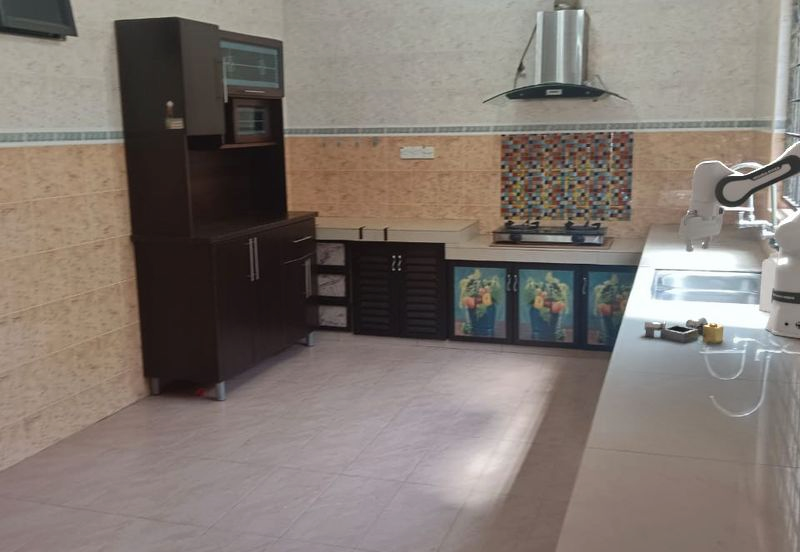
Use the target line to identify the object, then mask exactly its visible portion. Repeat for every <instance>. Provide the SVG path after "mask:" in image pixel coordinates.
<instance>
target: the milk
mask: <svg viewBox="0 0 800 552" xmlns="http://www.w3.org/2000/svg"><path fill="white" fill-rule="evenodd" d="M778 253H779V251H778V252H771V253H770V254H769V257H768V258H766V259H764V260H762V265H761V278H760V279H761V280H760V293H759V294H760V295H759V305H758V306H759V308H758V310H759V311H760V310H762V311H761V312H765V311H766V313H770V312H771V307H772V303H771V299H772V289H773V288H774V280H775V267H776V262H777V258H778Z"/></svg>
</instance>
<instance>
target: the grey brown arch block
mask: <svg viewBox="0 0 800 552" xmlns="http://www.w3.org/2000/svg"><path fill="white" fill-rule="evenodd" d="M665 327H667V325H666V321H662V322H652V321H651V322H647V321H644V331H645V338H654V337H655V331H659V332H661V329H665Z"/></svg>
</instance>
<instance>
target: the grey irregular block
mask: <svg viewBox="0 0 800 552" xmlns="http://www.w3.org/2000/svg"><path fill="white" fill-rule="evenodd" d="M707 320H708V319H706V318H705V317H701V318H697V319H688V320H687V321H686V323H685V327H689V328H694V329H698V334H703V326H705V325H708V324H709V322H708V321H707Z"/></svg>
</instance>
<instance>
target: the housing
mask: <svg viewBox="0 0 800 552" xmlns="http://www.w3.org/2000/svg"><path fill="white" fill-rule="evenodd" d="M659 335H660V338H661V339H664V340H669V341H674V342H678V343H683V344H685V343H687V342H691V341H694V340H696V339H698V338H699V333H698V329H694V328H689V327H686V326H684V325H679V324H673V325H669V326H665V329H661V331H660V334H659Z"/></svg>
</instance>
